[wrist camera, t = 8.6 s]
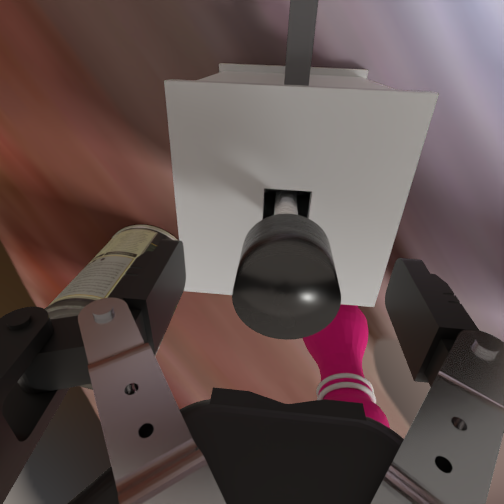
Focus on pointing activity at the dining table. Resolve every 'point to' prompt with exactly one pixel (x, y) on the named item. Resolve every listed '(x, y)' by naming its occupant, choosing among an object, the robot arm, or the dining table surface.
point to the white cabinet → (293, 160)
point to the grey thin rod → (286, 274)
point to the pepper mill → (344, 361)
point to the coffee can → (106, 270)
